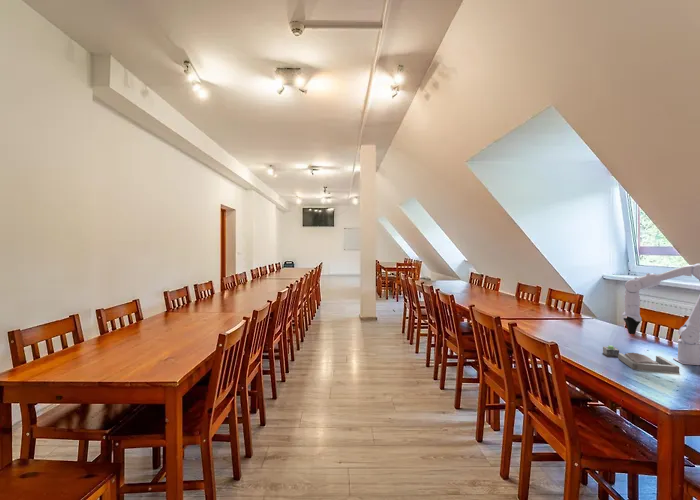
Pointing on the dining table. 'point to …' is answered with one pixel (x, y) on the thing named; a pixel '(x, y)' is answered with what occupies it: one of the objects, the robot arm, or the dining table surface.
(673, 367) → the corral
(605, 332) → the dining table surface
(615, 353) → the button box
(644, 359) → the stone block
